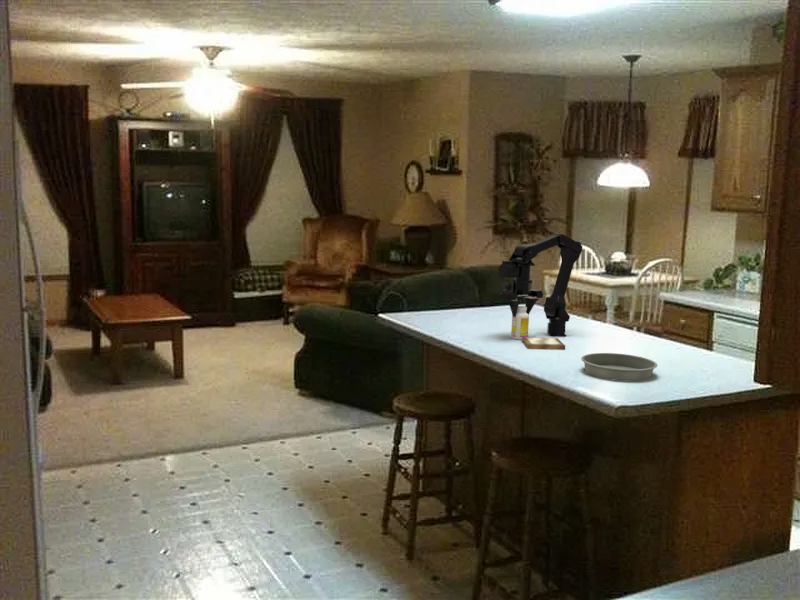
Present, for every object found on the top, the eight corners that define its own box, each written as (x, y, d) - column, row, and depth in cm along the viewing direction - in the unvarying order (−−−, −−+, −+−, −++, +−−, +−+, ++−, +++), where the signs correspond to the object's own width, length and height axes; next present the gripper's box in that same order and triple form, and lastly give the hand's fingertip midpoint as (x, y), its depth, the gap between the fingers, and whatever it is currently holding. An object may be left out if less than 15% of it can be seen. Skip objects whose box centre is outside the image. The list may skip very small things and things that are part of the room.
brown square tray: (557, 342, 325) (557, 337, 325) (565, 349, 311) (565, 345, 311) (521, 341, 325) (522, 336, 324) (528, 348, 311) (528, 344, 311)
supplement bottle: (529, 338, 332) (531, 306, 330) (525, 340, 326) (526, 308, 324) (513, 336, 335) (515, 304, 333) (508, 338, 329) (510, 307, 327)
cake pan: (611, 385, 260) (612, 371, 259) (565, 367, 282) (566, 354, 281) (672, 379, 270) (673, 366, 269) (624, 363, 292) (625, 351, 291)
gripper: (525, 274, 339) (523, 311, 341) (491, 276, 328) (489, 314, 330) (544, 277, 330) (542, 315, 332) (510, 279, 319) (508, 319, 321)
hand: (520, 316), depth 329 cm, fingers closed on supplement bottle, 7 cm apart
